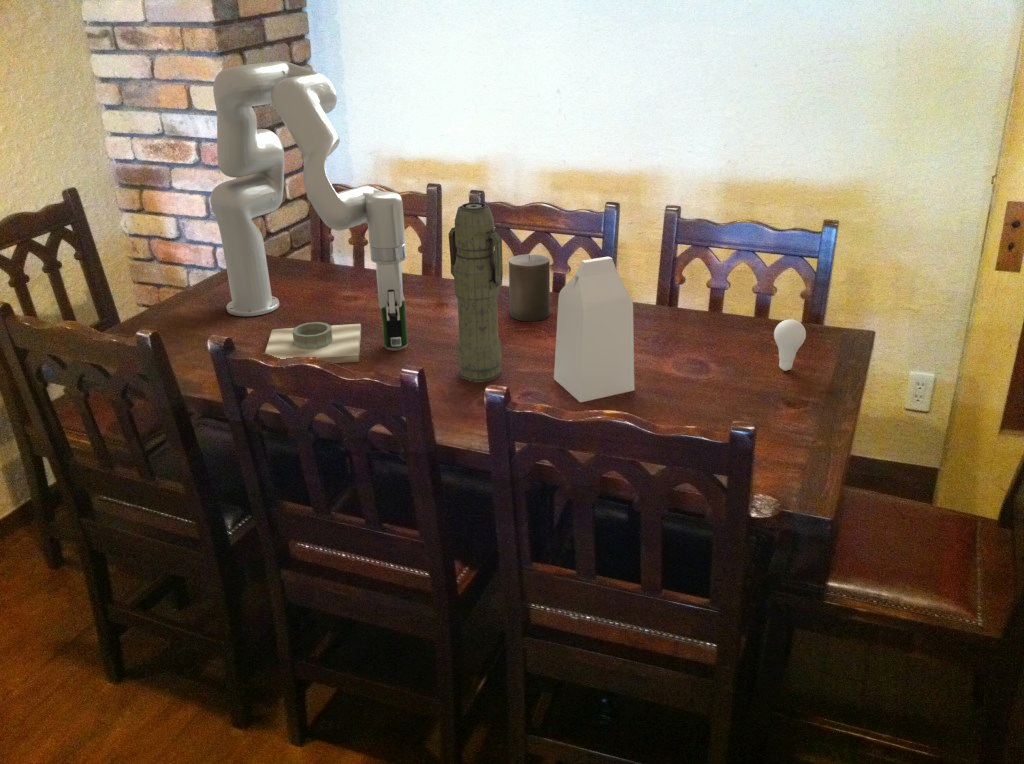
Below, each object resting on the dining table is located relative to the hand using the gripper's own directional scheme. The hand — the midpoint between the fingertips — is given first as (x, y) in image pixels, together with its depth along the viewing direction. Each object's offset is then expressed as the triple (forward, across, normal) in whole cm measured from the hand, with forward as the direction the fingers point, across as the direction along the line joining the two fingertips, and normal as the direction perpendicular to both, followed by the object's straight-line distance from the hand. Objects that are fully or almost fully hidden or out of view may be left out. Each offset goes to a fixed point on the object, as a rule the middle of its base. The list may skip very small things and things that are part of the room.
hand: (394, 330), depth 190 cm
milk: (+4, +26, +39) cm, 47 cm away
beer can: (+4, 0, 0) cm, 4 cm away
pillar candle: (+4, -14, +32) cm, 35 cm away
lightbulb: (+4, +26, +79) cm, 83 cm away
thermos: (+4, +17, +17) cm, 24 cm away
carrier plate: (+4, -2, -18) cm, 18 cm away
